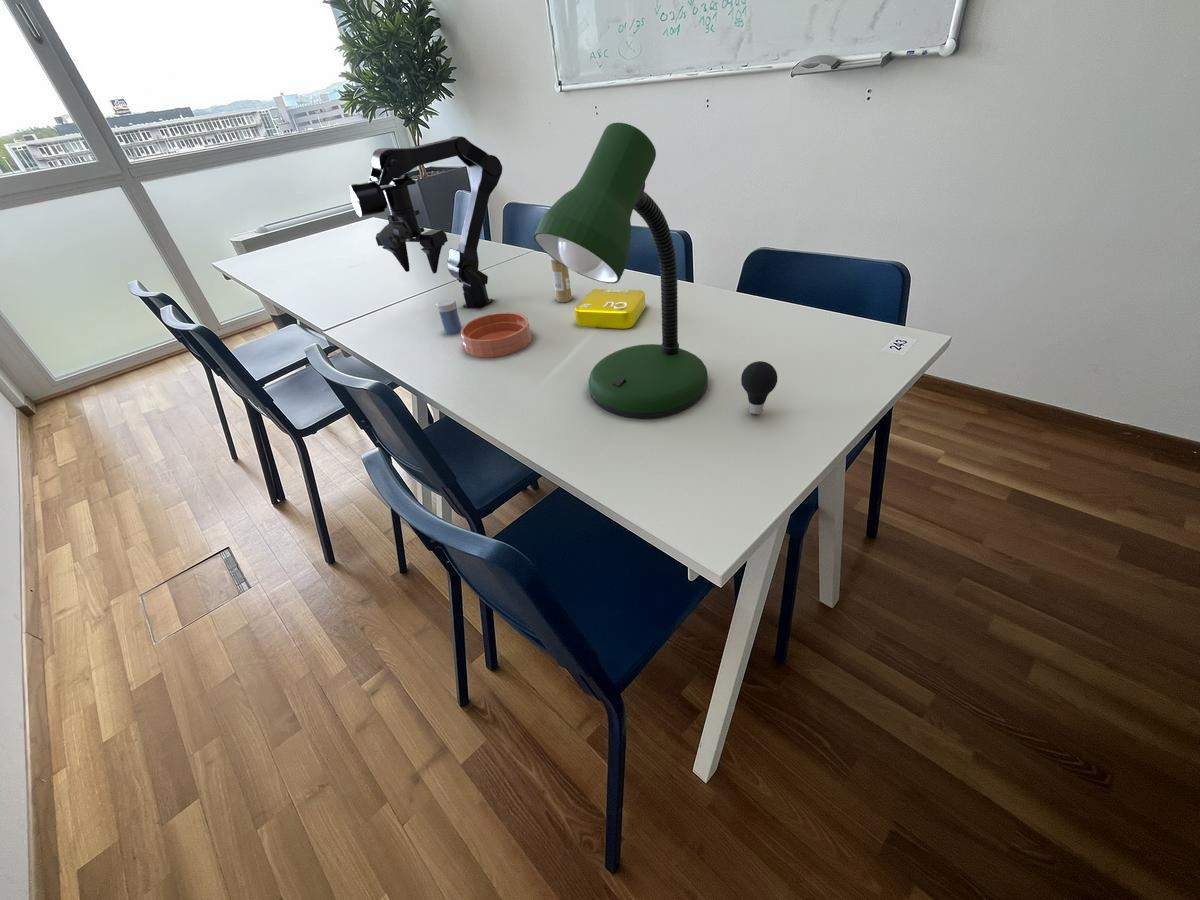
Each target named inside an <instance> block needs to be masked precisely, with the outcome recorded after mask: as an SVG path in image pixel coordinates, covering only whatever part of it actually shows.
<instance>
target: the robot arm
mask: <svg viewBox="0 0 1200 900" xmlns="http://www.w3.org/2000/svg"><path fill="white" fill-rule="evenodd" d="M454 157H457V158H458V159H459V160H460V161H461V162H463V164H464V165H465V166H467V168H469V179H470V186H471V191H470V195H469V200H468V204H467V208H466V212H465V217H464V222H463V226H462V230H461V235H460V240H459V243H458V245H457V247H456V248H455V249H454V248H450V249H449V252H448V253H449V254H448V259H447V260H446V264H447V270H448V272H449V274H450V275H451V276H452V277H453V278H455V279H456V280H457V281H458V282H459V283H461V284H462V286H461V288H462V292H463V293H462V295H463V297H464V302H465V303H464V304H463V305H462V307H463V308H464V309H465V308H466V309H477V310H478V309H479V310H481V309H483V308H484V307H486V306H488V305H490V304H491V303H493V301H494V299H493V298H489V295H488V290H487V286H486V285H488V280H489V276H488V275H487V274H486V273H484V272H482V271H480V270H479V265H480V264H479V263H480V262H479V261H480V260H479V255H478V254H479V253H478V246H479V242H480V238H481V234H482V231H483V225H484V221H485V217H486V213H487V208H488V204H489V200H490V196H491V194H492V193H493V191H494V190H495V189H496V187H497V186H498V184H499V181H500V179H501V176H502V175H503V165H502V162H501V160H500V159H499V158H498V157H497V156H496V155H493V154H489V153H488V152H486V150H485V151H484V150H483V149H481V148H480V147H478V146H477V145H475V144H473V142H471V141H470V140H469V139H467V138H466V137H465V136H462V135H453V136H451V137H450V138H445V139H441V140H437V141H433V142H429V143H424V144H419V145H416V146H411V147H382V148H381V147H380V148H376V149H375V150H374V151H373V153H372V156H371V164H372V167H371V171H370V174H369V177H368V181H367V182H362V183H352V184H349V189H350V198H351V199H350V200H351V204H352V207H353V209H354V210H355V213H356V215H358V217H359V218H364V217H368V216H373V215H377V214H382V213H385V211H386V209H387V208H388V209H389V213H390V214H387V221H388V223H387V224H386V225H385V226H384V227H383V228H382V229H381V230H380V231H379V232H377V233H376V235H375V241H376V244H377V246H378V247H381V248H382V249H383V250H387V251H388V252H390V253H392V255H393V257H394V258H395V259H396V260H397V261H398V263H399V264H400V266H401V267H402V268H403V270H404V271H405V272H406V273H409V272H410V271H411V270H410V259H409V254H408V248H407V242H408V243H419V245H420V246H421V247H422V248H420V250H421V251H422V252H423V253H424V254H425V255H426V258H427V260H428V261H427V262H428V264H429V267H430V270H431V273H432V274H433V275H434V274H437V273H438V267H439V260H440V255H441V252H442V248H443V246H445V244H446V243H447V242H449V239H448V237H447V233H446V232H445V231H444V230H443V229H430V230H427V231H425V228H424V226H420V222H419V219H418V215H420V210H419V208H418V209H416V208H415V206H414V205H415V204H414V202H413V199H412V195H411V192H410V188H409V186H412V185H416V184H417V181H416V180H415V179H413V178H412V177H411V176H409V175H408V173H409V172H411V171H412V170H414V169H416V168H417V167H419V166H422V165H427V164H430V163H434V162H438V161H442V160H446V159H451V158H454Z"/></svg>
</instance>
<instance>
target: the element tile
mask: <svg viewBox="0 0 1200 900" xmlns="http://www.w3.org/2000/svg"><path fill="white" fill-rule="evenodd" d="M645 309H646V293H645V291H644V290H640V289H616V288H615V289H607V288H594V289H592V290H591V291H589V292H588V293H587V294H586V296H584V298H583V299H582V300H580V302H579V303H578V304H577V305H576V307H574V315H575V323H576V325H577V326H579V327H585V328H586V327H588V328H596V329H597V328H598V329H599V328H600V329H617V330H618V329H621V330H626V329H627V330H628V329H631V328H633V327H634V325H635V324H636V323H637V321H638V320H639V318H640V317H641V315H642V313H643V312H644V310H645Z"/></svg>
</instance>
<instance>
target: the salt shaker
mask: <svg viewBox="0 0 1200 900" xmlns="http://www.w3.org/2000/svg"><path fill="white" fill-rule="evenodd" d="M436 307H437V311H438V313H439V317H440V320H441V324H442V326H443V330H444V333H445V335H448V336H454V335H457V334H461V329H462V328H463V326H462V323H461V320H460V315H459V312H458V307H457V303H456V300H455V299H453V298H447V299H442V300H439V301H437V302H436Z"/></svg>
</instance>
